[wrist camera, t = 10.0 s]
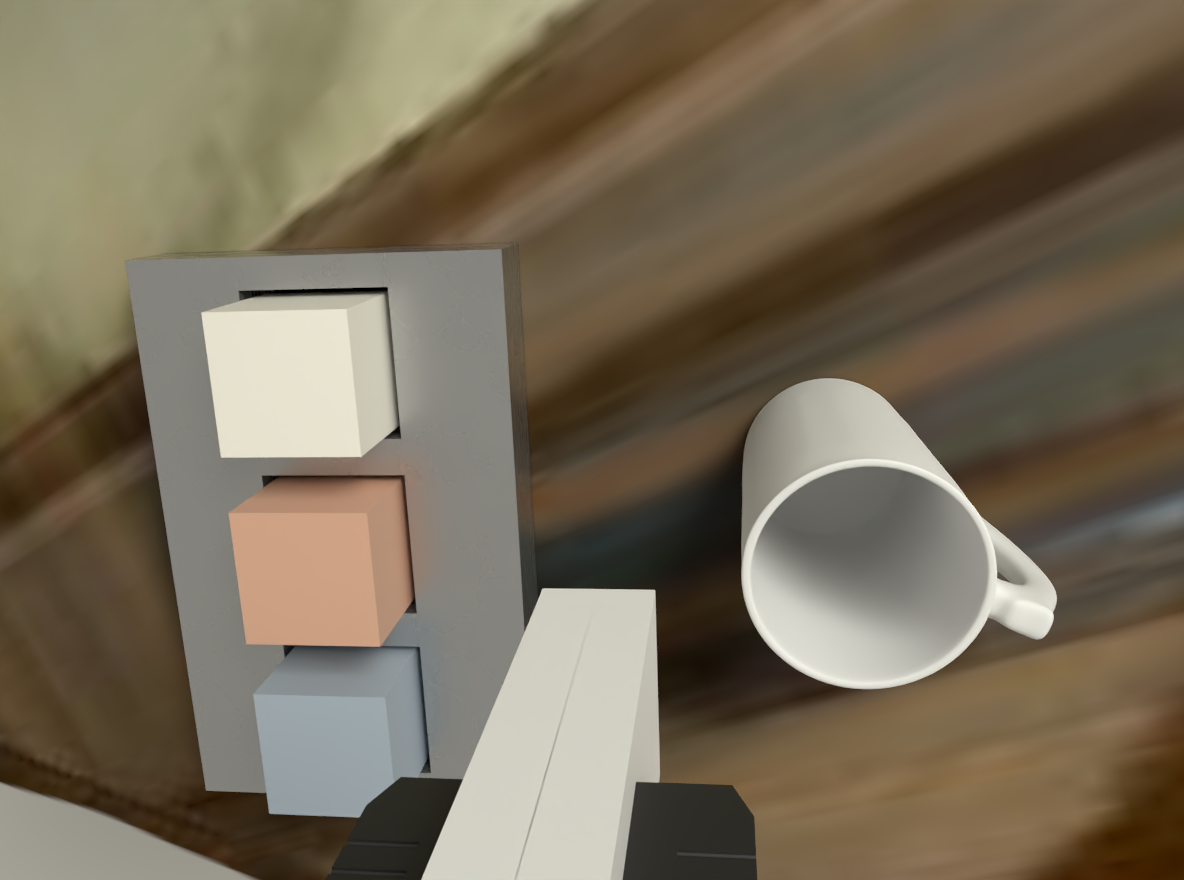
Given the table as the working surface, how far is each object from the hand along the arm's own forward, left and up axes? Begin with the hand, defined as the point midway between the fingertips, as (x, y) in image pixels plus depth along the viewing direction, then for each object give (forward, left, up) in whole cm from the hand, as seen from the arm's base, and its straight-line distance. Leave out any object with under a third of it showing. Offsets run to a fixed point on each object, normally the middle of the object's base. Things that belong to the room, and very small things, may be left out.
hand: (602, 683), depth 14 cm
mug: (+5, +7, -27) cm, 28 cm away
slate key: (+14, -13, -25) cm, 31 cm away
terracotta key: (+7, -13, -25) cm, 29 cm away
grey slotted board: (+7, -13, -26) cm, 30 cm away
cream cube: (0, -13, -25) cm, 28 cm away
